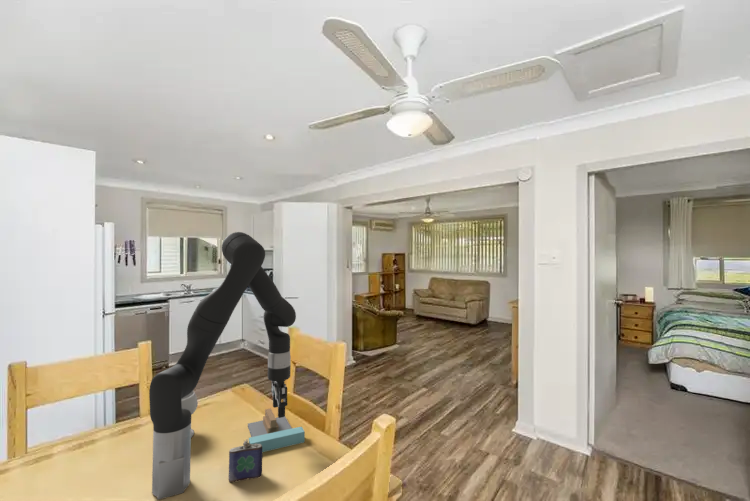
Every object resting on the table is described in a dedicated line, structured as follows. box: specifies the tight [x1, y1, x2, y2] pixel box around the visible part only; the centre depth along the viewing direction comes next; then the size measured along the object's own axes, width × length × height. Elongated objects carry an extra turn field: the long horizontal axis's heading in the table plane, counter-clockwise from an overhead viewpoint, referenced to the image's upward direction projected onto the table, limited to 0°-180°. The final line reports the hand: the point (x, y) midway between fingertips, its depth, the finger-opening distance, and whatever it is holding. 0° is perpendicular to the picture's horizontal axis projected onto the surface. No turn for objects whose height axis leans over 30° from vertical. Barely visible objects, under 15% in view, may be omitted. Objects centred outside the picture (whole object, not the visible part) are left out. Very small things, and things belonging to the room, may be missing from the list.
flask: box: [228, 439, 263, 483], centre depth 103 cm, size 9×3×11 cm, turn 109°
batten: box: [248, 426, 306, 453], centre depth 120 cm, size 4×18×4 cm, turn 117°
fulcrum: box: [247, 407, 293, 437], centre depth 129 cm, size 14×14×6 cm
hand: (278, 411), depth 119 cm, fingers open, 8 cm apart
